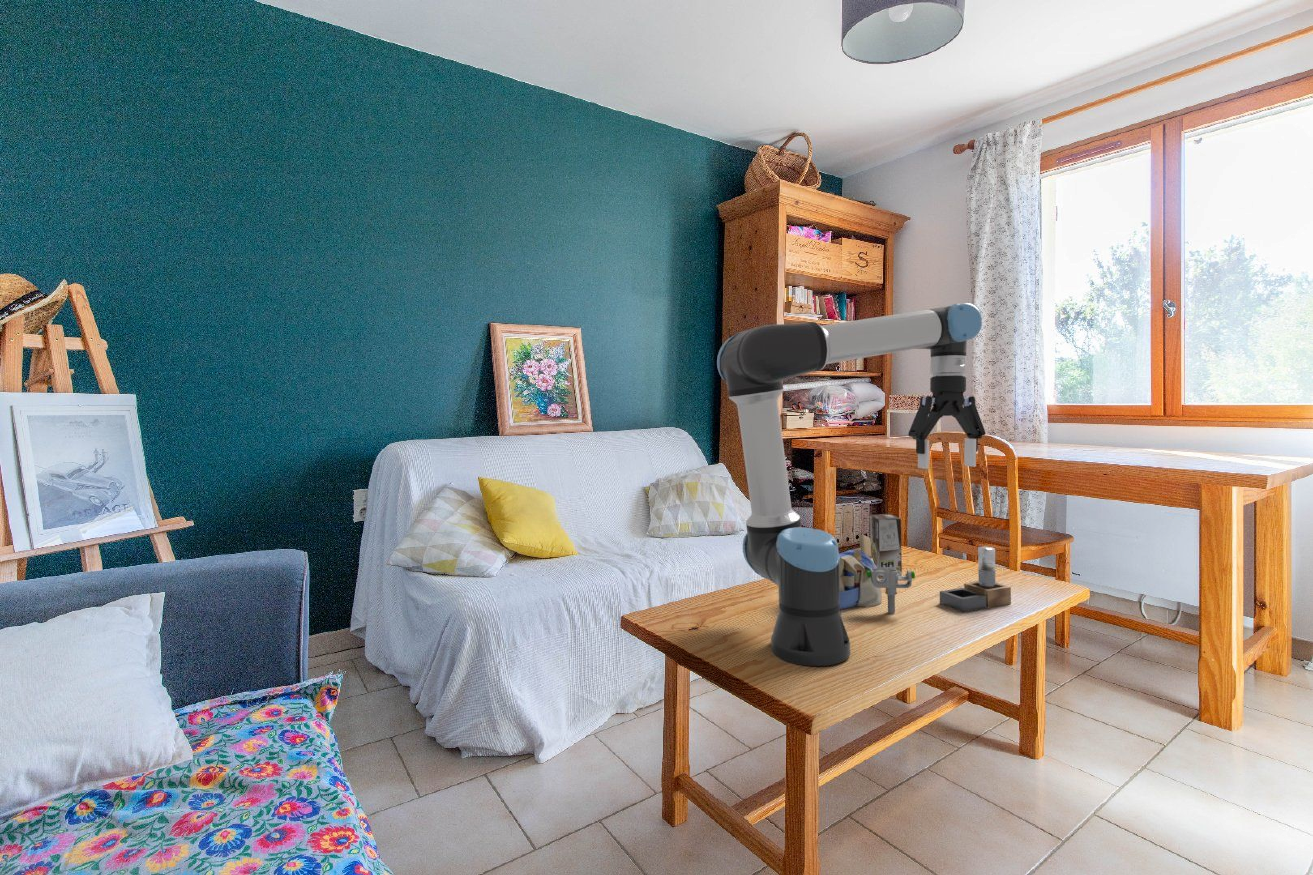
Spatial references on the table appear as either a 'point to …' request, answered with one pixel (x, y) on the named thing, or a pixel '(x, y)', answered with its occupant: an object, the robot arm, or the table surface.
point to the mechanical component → (890, 583)
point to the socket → (963, 599)
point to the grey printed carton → (886, 542)
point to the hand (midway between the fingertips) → (947, 467)
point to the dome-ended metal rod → (986, 567)
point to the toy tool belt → (857, 577)
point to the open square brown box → (992, 593)
